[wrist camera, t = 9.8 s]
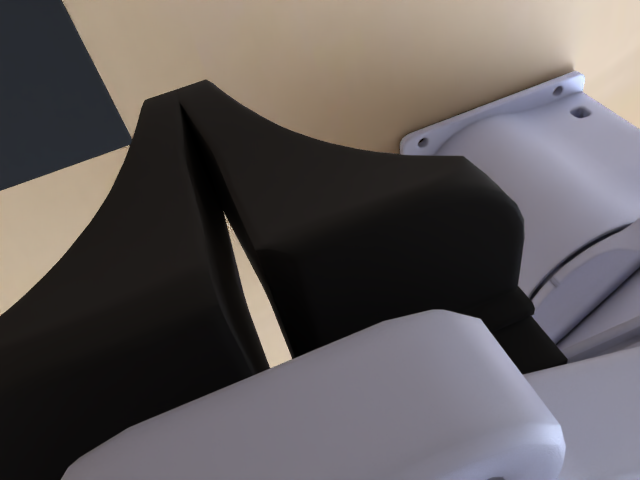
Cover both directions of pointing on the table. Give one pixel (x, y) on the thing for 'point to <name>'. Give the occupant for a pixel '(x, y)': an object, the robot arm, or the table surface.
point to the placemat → (49, 95)
